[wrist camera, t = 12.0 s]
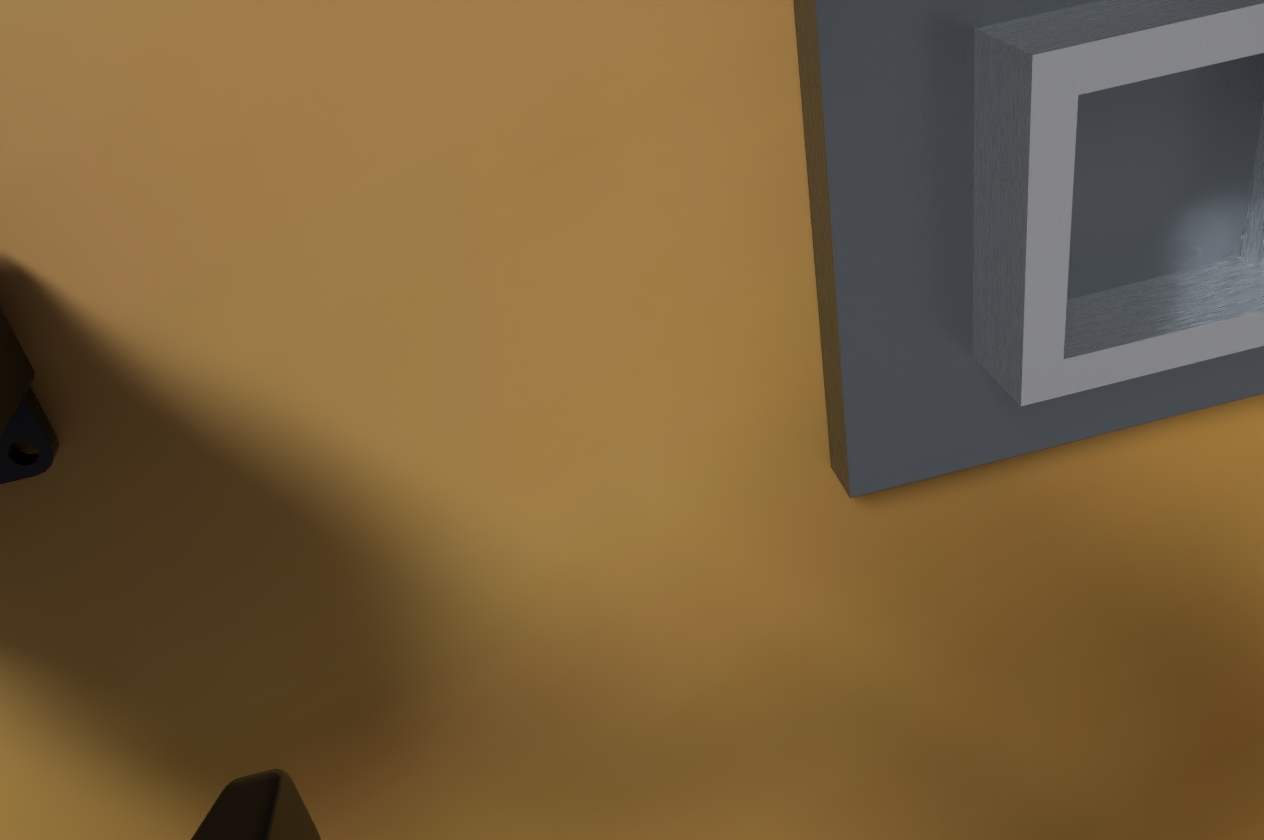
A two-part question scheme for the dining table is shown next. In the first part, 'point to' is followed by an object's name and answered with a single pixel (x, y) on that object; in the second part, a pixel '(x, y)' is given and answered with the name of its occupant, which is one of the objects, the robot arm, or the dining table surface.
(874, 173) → the fitting board
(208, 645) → the dining table surface
